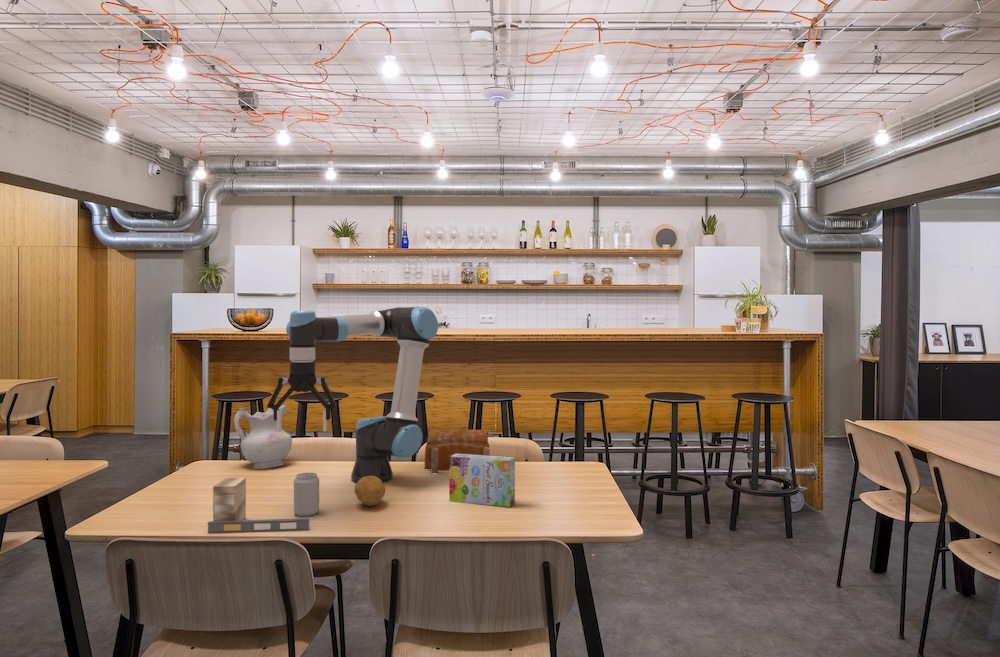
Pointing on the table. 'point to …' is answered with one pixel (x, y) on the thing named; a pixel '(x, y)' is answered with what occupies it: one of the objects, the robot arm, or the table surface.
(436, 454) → the twin upright posts
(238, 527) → the rail
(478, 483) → the snack box
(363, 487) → the potato
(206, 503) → the table surface
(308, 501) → the can
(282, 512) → the table surface
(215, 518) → the kraft box
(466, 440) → the bread
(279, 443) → the ceramic pitcher
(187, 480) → the table surface
